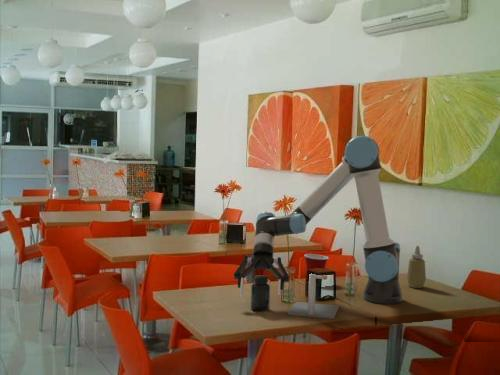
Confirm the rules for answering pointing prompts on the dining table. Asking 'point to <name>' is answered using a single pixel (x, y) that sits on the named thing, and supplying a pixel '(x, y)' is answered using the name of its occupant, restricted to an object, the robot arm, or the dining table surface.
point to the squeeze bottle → (416, 270)
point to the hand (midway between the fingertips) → (259, 296)
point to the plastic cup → (315, 261)
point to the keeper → (312, 308)
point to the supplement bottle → (260, 294)
